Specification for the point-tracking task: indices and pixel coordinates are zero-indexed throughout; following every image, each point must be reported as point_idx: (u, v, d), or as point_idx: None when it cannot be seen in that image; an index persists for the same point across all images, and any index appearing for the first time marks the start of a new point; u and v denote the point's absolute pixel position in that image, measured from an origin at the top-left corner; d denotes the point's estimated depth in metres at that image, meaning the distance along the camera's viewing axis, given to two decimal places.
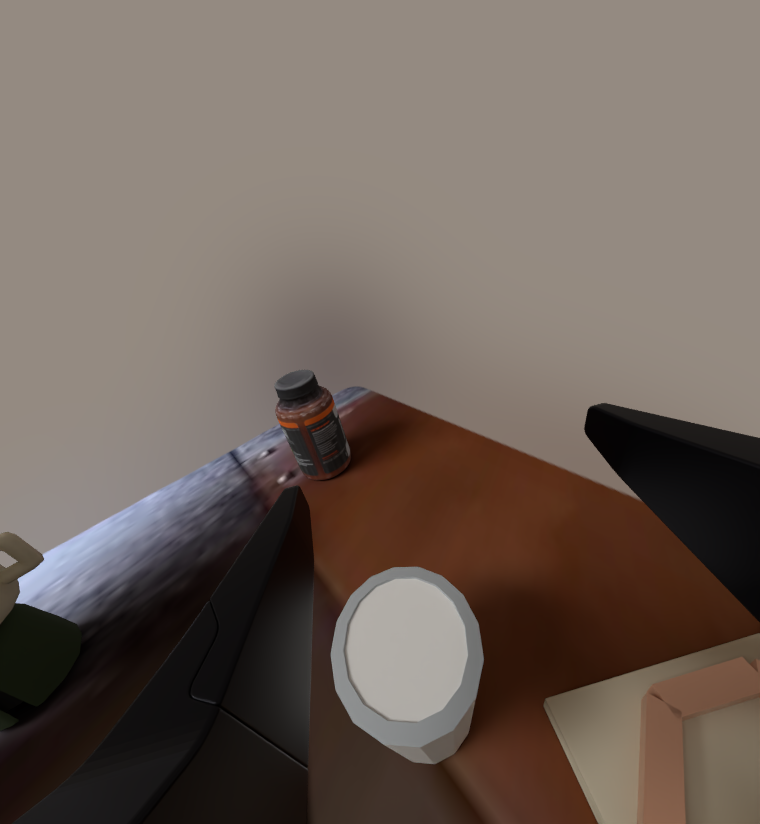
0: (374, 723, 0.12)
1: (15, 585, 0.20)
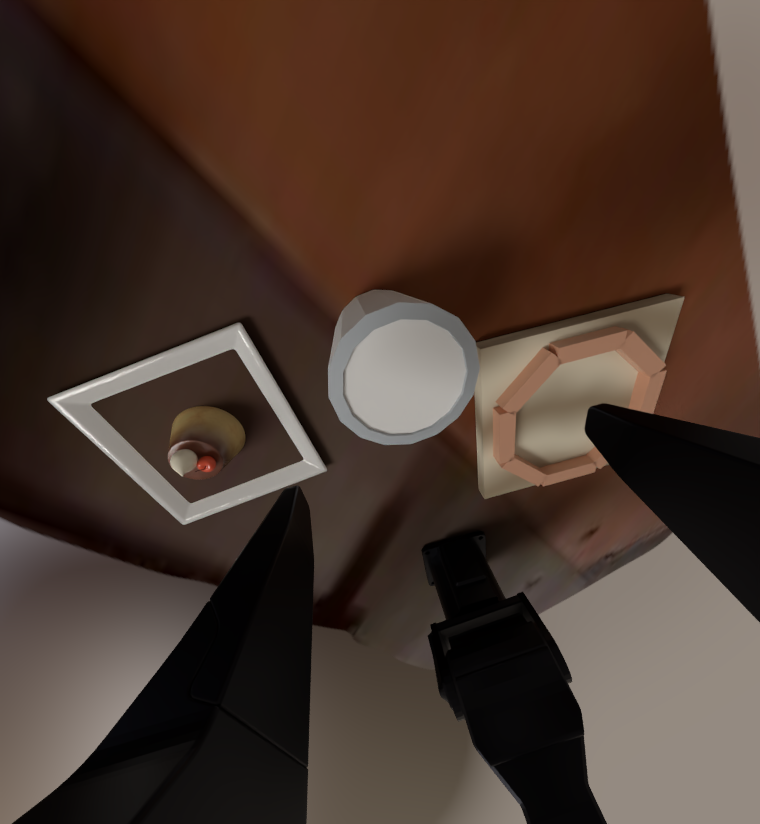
0: (378, 437, 0.15)
1: None
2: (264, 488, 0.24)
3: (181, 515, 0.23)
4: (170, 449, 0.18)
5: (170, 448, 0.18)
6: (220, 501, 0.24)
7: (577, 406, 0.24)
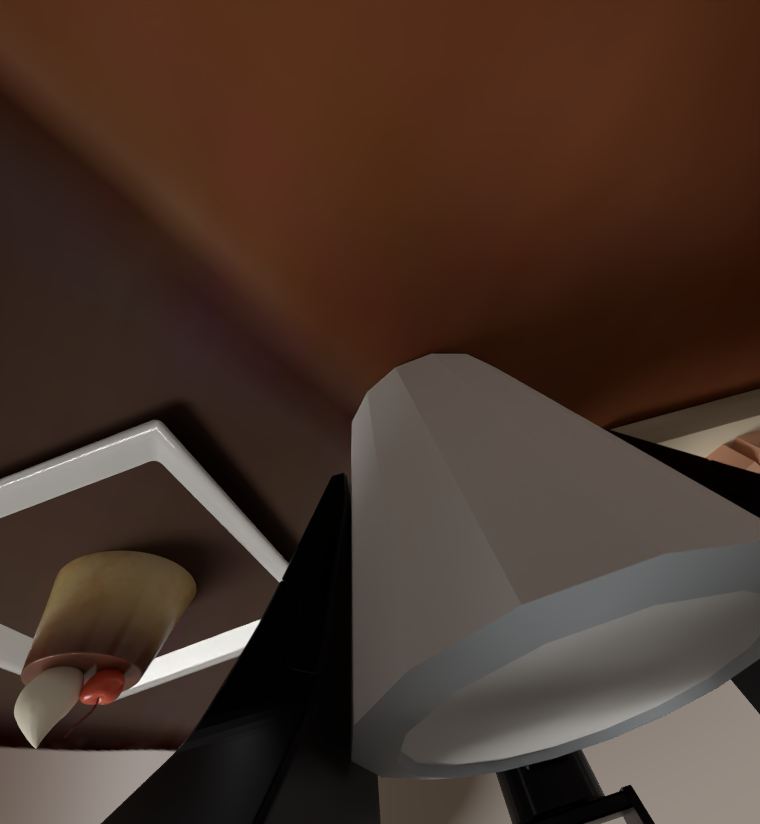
0: None
1: None
2: (234, 649, 0.14)
3: None
4: (24, 669, 0.09)
5: (24, 666, 0.09)
6: (162, 670, 0.14)
7: None
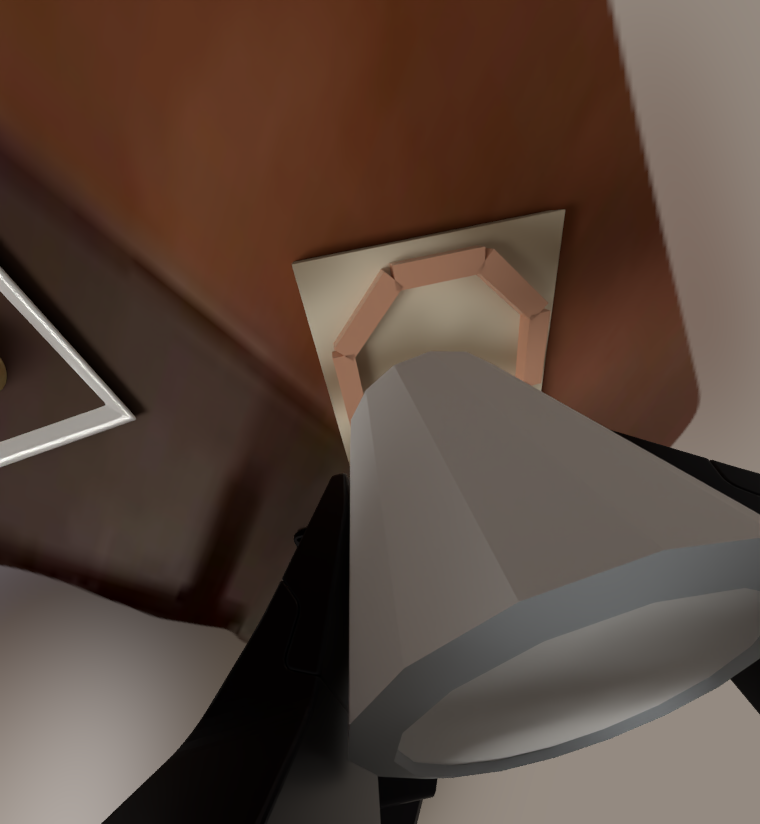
0: None
1: None
2: (53, 439, 0.18)
3: None
4: None
5: None
6: None
7: None
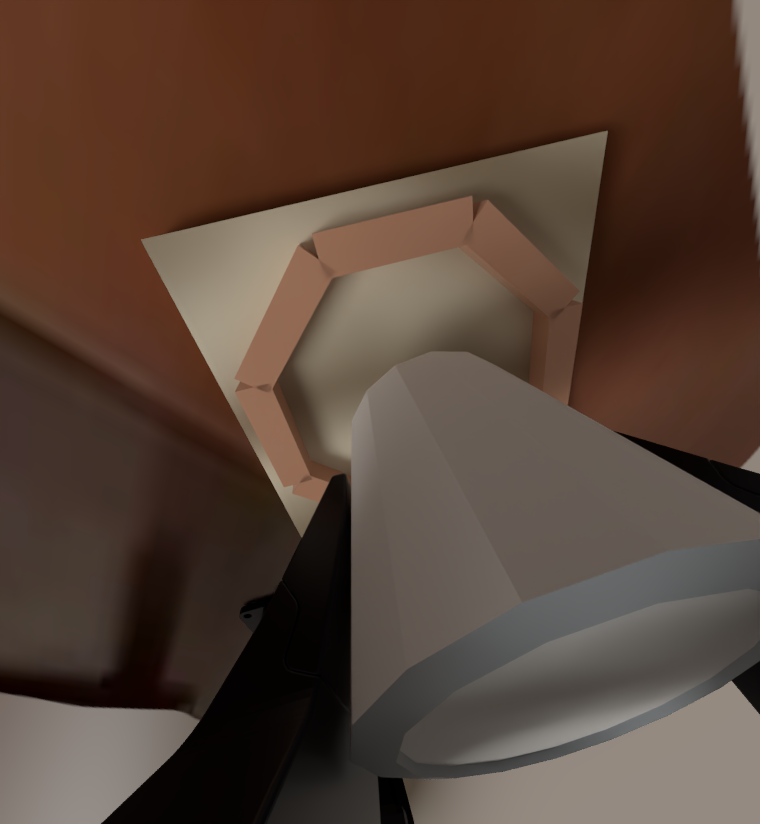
0: (474, 774, 0.06)
1: None
2: None
3: None
4: None
5: None
6: None
7: None
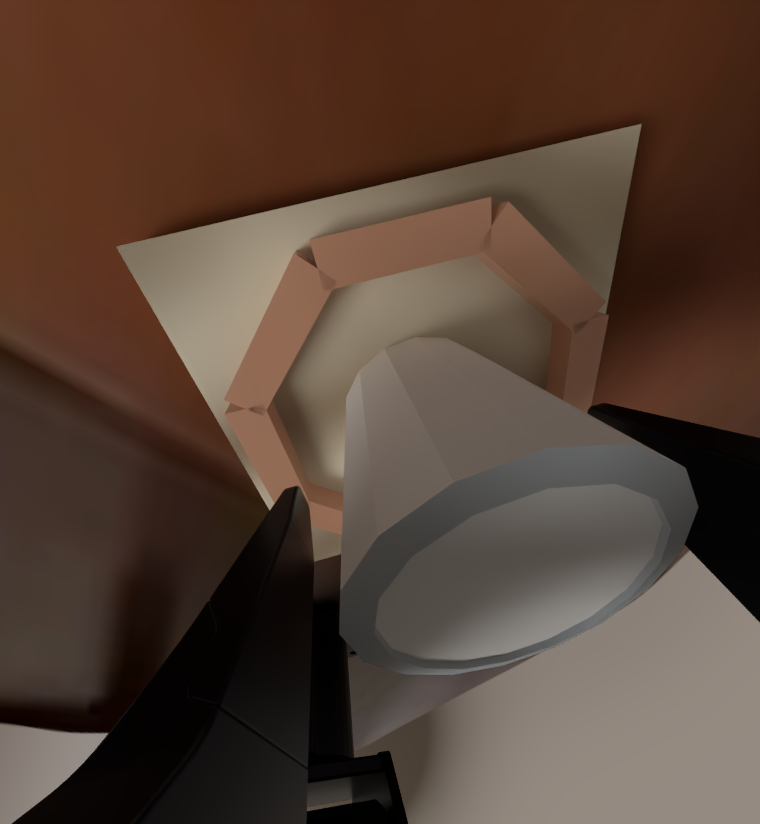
0: (441, 671, 0.07)
1: None
2: None
3: None
4: None
5: None
6: None
7: None
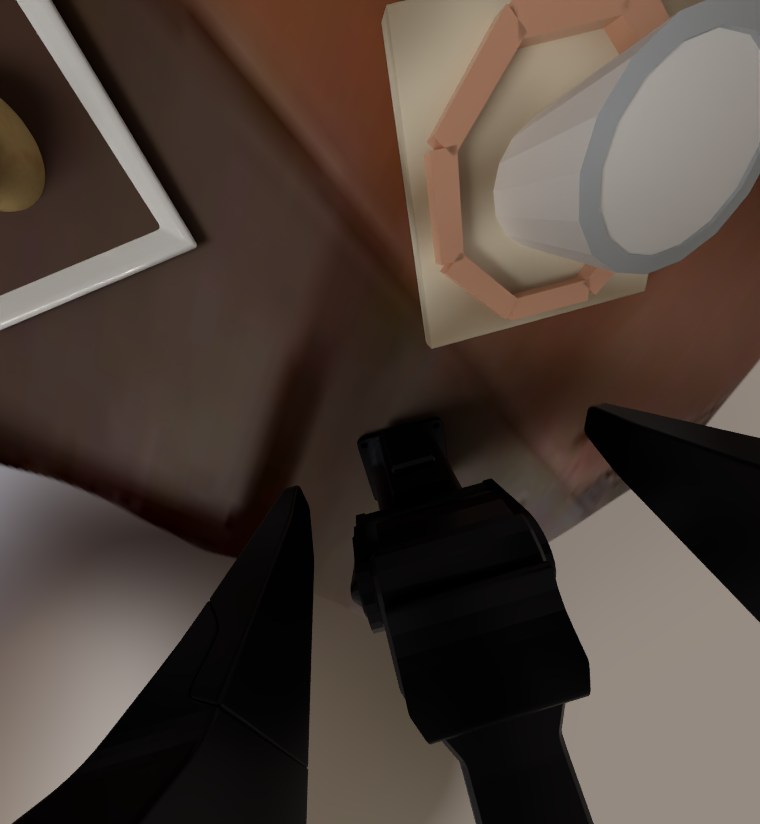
0: (614, 256, 0.11)
1: None
2: (99, 274, 0.15)
3: None
4: None
5: None
6: (32, 296, 0.15)
7: None
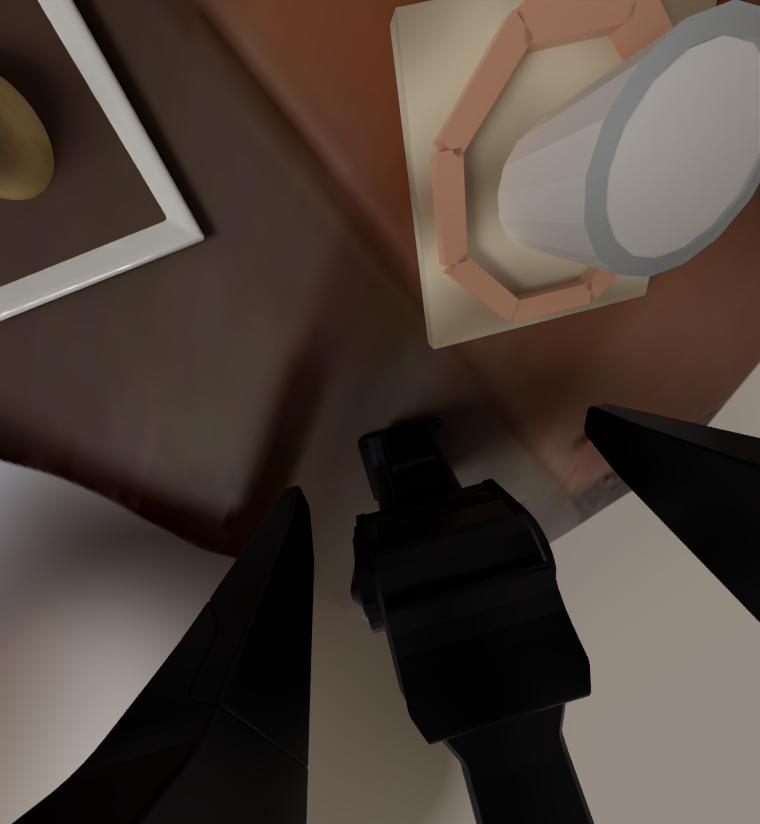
0: (618, 258, 0.11)
1: None
2: (105, 265, 0.15)
3: None
4: None
5: None
6: (37, 286, 0.15)
7: None
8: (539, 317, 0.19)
